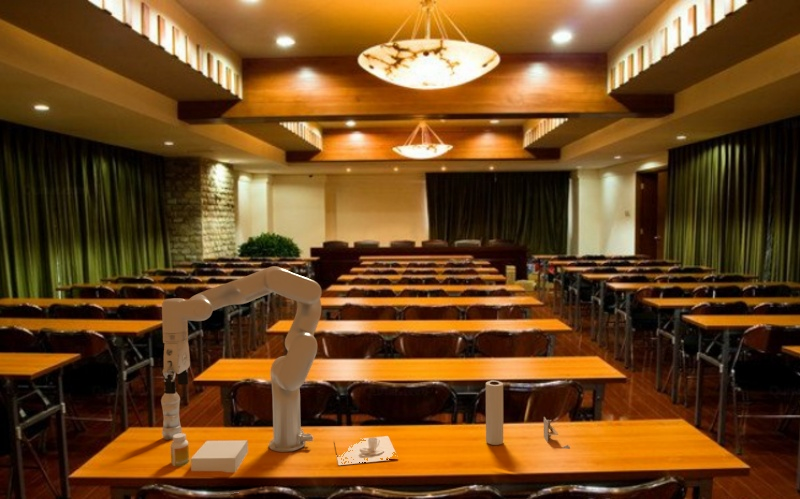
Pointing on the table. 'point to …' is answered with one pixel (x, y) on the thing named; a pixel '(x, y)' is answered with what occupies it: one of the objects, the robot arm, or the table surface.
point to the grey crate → (220, 456)
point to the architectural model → (546, 426)
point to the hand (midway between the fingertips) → (176, 388)
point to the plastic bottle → (170, 415)
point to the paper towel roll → (494, 412)
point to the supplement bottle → (179, 450)
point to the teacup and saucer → (368, 451)
